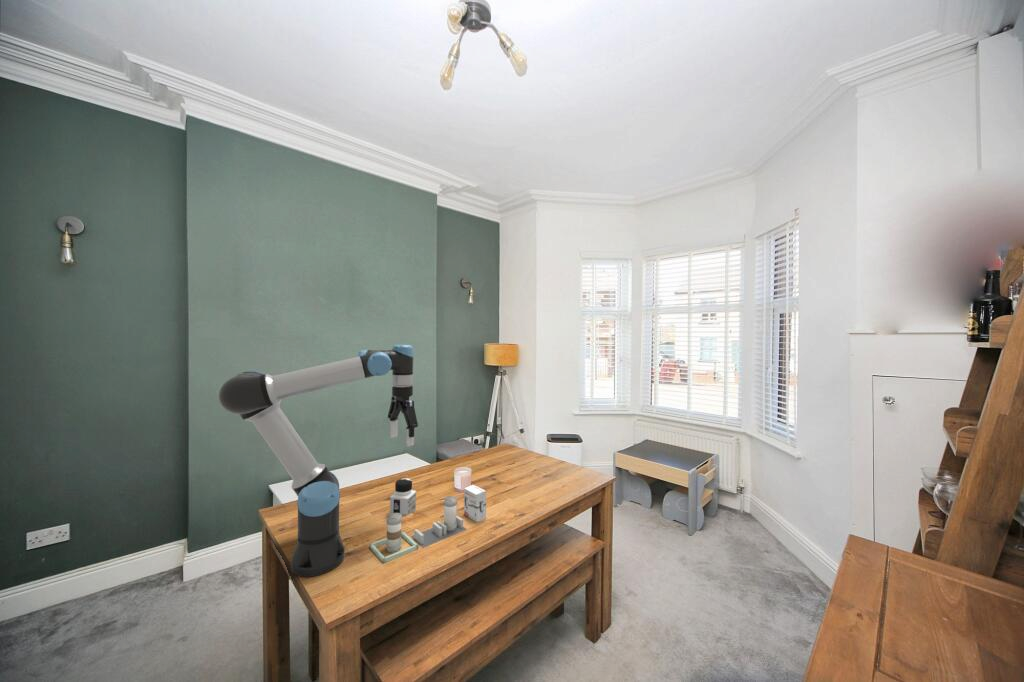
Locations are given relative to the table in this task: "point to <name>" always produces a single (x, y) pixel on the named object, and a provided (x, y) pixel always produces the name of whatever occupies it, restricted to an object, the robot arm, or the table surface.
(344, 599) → the table surface
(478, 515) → the ink box
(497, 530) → the table surface
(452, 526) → the cylinder
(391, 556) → the parts tray
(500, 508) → the table surface
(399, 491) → the container
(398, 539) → the cylinder
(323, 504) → the robot arm
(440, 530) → the fuse block
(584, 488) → the table surface
